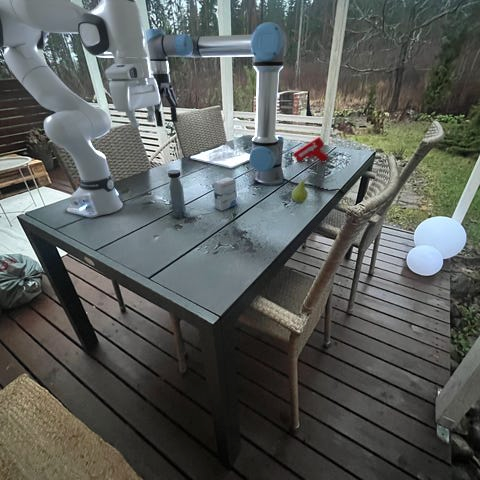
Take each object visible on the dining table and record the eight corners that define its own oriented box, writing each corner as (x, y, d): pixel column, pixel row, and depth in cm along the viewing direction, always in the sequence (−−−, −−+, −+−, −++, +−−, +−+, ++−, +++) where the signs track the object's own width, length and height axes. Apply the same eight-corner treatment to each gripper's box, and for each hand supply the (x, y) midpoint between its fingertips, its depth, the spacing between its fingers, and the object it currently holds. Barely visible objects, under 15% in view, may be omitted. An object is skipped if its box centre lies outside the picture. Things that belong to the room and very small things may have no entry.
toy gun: (332, 156, 168) (319, 135, 164) (331, 158, 165) (319, 137, 161) (306, 172, 178) (294, 152, 174) (305, 174, 175) (293, 154, 171)
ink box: (228, 201, 122) (228, 176, 116) (236, 204, 119) (236, 179, 113) (214, 207, 117) (212, 181, 111) (222, 211, 114) (220, 184, 108)
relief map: (232, 168, 162) (231, 159, 159) (190, 158, 179) (189, 150, 177) (257, 157, 180) (257, 149, 177) (217, 149, 198) (217, 142, 195)
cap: (177, 178, 100) (177, 173, 99) (166, 177, 101) (165, 173, 100) (182, 174, 104) (181, 170, 103) (171, 173, 105) (170, 169, 104)
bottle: (183, 218, 109) (177, 175, 99) (172, 217, 110) (165, 174, 100) (188, 213, 113) (182, 170, 103) (176, 212, 114) (170, 170, 104)
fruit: (288, 200, 123) (290, 174, 116) (302, 197, 125) (305, 172, 119) (296, 206, 118) (299, 179, 111) (310, 203, 120) (314, 177, 114)
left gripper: (142, 70, 84) (150, 118, 91) (100, 71, 67) (115, 130, 75) (161, 70, 83) (168, 119, 90) (123, 71, 66) (136, 131, 73)
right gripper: (167, 72, 132) (173, 119, 143) (136, 73, 112) (146, 128, 123) (181, 72, 130) (186, 120, 141) (151, 73, 110) (160, 129, 121)
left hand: (143, 124), depth 82 cm, fingers open, 8 cm apart
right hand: (167, 124), depth 132 cm, fingers open, 13 cm apart
